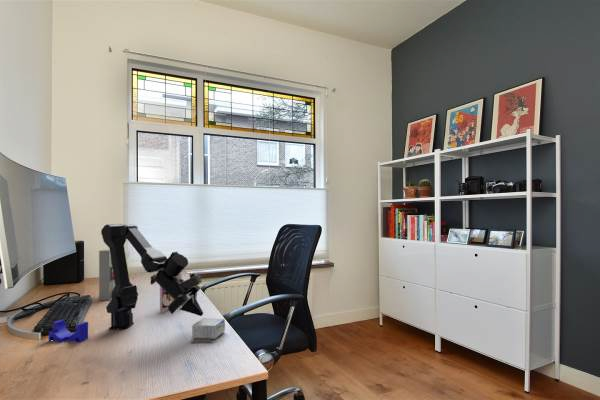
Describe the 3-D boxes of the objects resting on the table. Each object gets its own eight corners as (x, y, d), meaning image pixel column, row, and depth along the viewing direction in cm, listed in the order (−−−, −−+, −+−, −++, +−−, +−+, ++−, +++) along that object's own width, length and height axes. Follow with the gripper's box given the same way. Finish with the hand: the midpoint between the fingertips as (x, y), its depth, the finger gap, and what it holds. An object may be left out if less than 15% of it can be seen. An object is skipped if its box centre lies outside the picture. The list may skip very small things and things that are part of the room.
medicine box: (191, 338, 113) (215, 339, 112) (191, 324, 114) (215, 325, 112) (202, 330, 121) (225, 331, 119) (202, 317, 121) (225, 318, 120)
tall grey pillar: (110, 300, 168) (110, 250, 169) (98, 300, 169) (98, 250, 170) (125, 293, 182) (125, 247, 183) (114, 293, 182) (114, 247, 183)
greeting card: (161, 312, 145) (161, 277, 145) (150, 310, 149) (150, 276, 149) (183, 306, 155) (182, 273, 155) (172, 304, 158) (172, 272, 159)
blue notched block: (48, 341, 115) (48, 323, 115) (61, 336, 119) (61, 319, 119) (76, 344, 111) (76, 326, 112) (88, 339, 116) (88, 321, 116)
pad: (191, 343, 110) (191, 342, 110) (203, 328, 124) (203, 327, 124) (209, 342, 110) (209, 341, 110) (220, 327, 124) (219, 327, 124)
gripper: (177, 272, 109) (211, 305, 109) (195, 263, 128) (224, 291, 128) (153, 296, 109) (187, 330, 109) (174, 284, 128) (203, 313, 127)
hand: (202, 314), depth 118 cm, fingers closed
